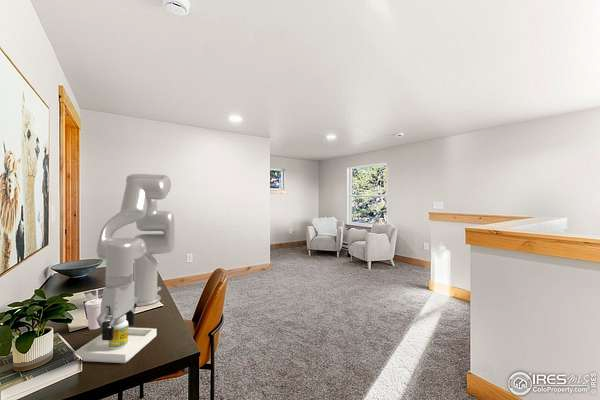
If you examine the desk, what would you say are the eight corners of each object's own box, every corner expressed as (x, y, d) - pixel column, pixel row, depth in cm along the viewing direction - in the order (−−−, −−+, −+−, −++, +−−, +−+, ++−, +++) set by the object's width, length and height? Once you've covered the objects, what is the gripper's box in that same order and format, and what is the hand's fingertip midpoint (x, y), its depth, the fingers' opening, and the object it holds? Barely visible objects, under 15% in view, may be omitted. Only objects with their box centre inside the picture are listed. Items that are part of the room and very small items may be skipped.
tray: (112, 333, 97) (113, 326, 97) (156, 335, 96) (156, 328, 96) (73, 360, 81) (73, 352, 81) (125, 363, 80) (125, 354, 80)
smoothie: (93, 332, 98) (94, 293, 98) (79, 330, 99) (80, 292, 99) (109, 324, 104) (110, 287, 104) (95, 322, 105) (96, 286, 105)
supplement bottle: (115, 340, 91) (116, 312, 91) (131, 341, 91) (132, 312, 91) (104, 349, 86) (104, 319, 86) (121, 350, 86) (121, 320, 86)
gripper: (126, 272, 97) (125, 319, 98) (86, 288, 80) (85, 345, 80) (147, 273, 97) (146, 320, 97) (111, 289, 80) (110, 347, 80)
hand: (118, 332), depth 89 cm, fingers open, 9 cm apart
